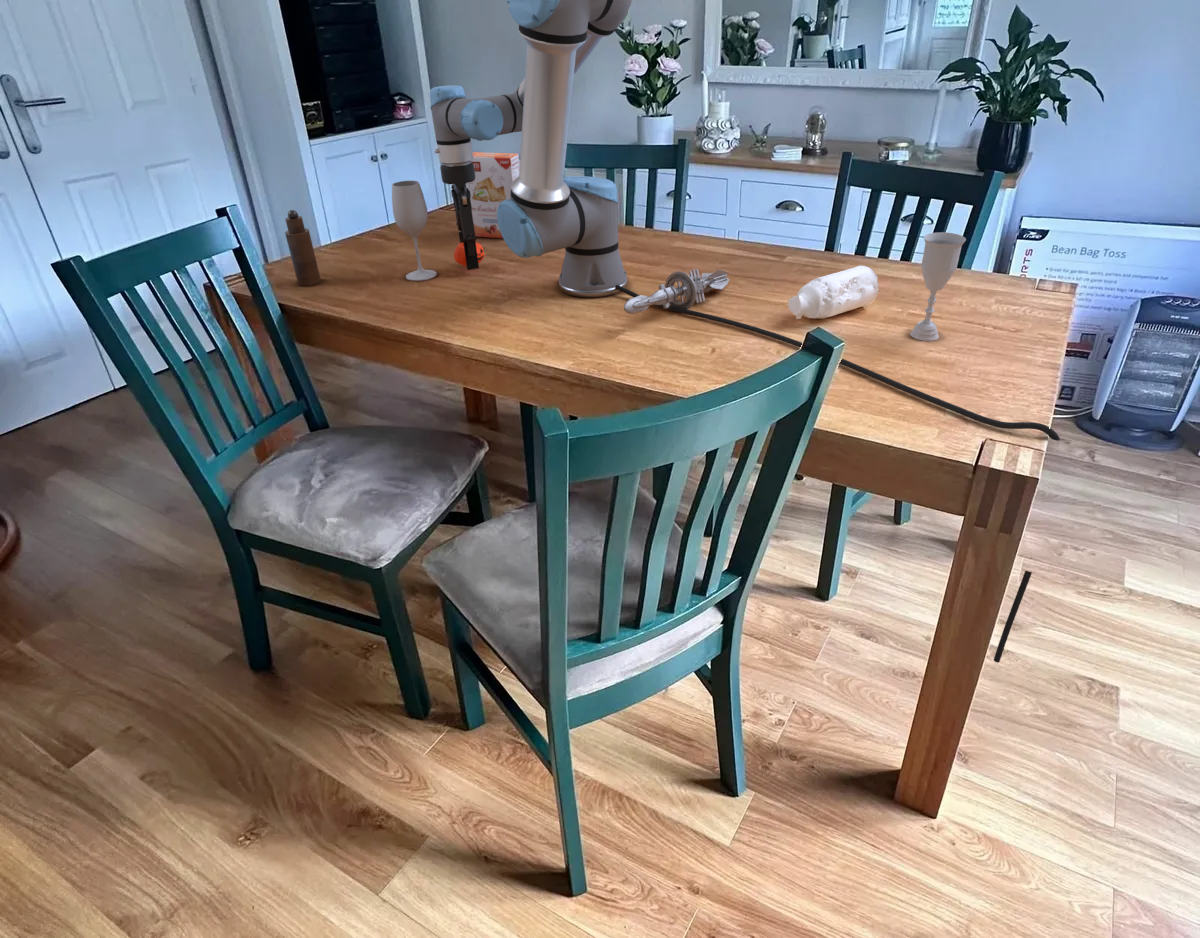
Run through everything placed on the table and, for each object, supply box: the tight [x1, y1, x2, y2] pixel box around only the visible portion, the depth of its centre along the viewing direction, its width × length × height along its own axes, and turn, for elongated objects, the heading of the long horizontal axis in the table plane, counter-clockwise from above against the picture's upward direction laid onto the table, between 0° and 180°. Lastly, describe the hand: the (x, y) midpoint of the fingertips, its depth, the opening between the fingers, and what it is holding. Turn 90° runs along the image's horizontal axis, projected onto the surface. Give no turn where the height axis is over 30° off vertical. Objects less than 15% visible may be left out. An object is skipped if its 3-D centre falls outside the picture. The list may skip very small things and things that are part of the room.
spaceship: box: [623, 268, 730, 315], centre depth 155 cm, size 8×35×8 cm
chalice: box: [909, 231, 967, 342], centre depth 138 cm, size 7×7×18 cm
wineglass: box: [391, 180, 438, 282], centre depth 176 cm, size 8×8×21 cm
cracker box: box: [466, 151, 520, 239], centre depth 202 cm, size 14×6×21 cm, turn 73°
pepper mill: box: [284, 209, 322, 287], centre depth 176 cm, size 5×5×17 cm
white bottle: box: [787, 265, 880, 320], centre depth 150 cm, size 8×19×8 cm, turn 121°
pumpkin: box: [453, 242, 485, 267], centre depth 182 cm, size 7×8×6 cm
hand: (470, 263), depth 183 cm, fingers closed on pumpkin, 8 cm apart
